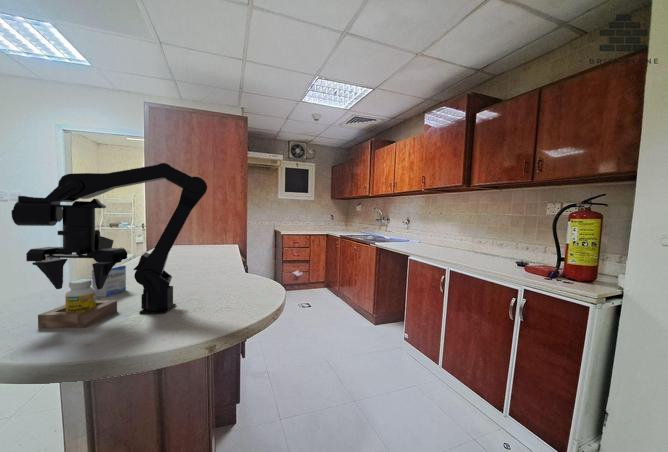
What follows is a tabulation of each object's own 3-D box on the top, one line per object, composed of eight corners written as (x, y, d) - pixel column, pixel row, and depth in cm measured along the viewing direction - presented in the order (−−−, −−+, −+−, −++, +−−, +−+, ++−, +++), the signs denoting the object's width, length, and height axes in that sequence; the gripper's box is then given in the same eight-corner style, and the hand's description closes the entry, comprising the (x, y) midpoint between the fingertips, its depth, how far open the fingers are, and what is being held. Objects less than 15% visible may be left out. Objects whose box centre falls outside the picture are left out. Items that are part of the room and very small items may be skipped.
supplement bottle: (97, 313, 69) (97, 277, 68) (93, 320, 64) (93, 282, 64) (69, 317, 66) (68, 279, 65) (62, 325, 61) (62, 284, 61)
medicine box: (105, 297, 81) (105, 270, 81) (91, 297, 81) (91, 269, 81) (126, 290, 89) (126, 265, 88) (113, 289, 89) (113, 264, 88)
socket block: (117, 311, 70) (117, 300, 70) (85, 327, 60) (85, 314, 60) (76, 311, 69) (76, 300, 69) (38, 327, 59) (37, 314, 59)
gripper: (140, 226, 73) (140, 281, 73) (67, 223, 71) (68, 280, 71) (111, 228, 62) (111, 292, 62) (23, 225, 60) (24, 292, 60)
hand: (79, 289), depth 64 cm, fingers open, 9 cm apart
